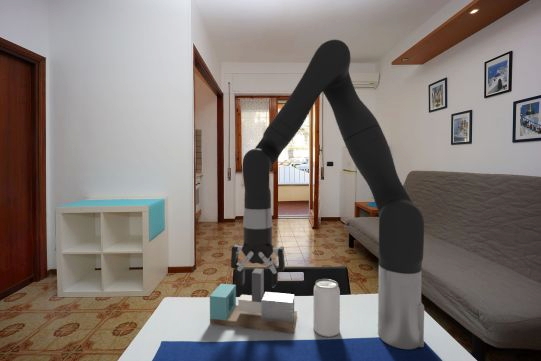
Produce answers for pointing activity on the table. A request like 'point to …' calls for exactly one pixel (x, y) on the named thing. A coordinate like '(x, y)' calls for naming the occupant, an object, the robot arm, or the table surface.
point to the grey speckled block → (277, 307)
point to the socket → (222, 301)
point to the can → (326, 308)
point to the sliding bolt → (253, 293)
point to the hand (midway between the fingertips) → (257, 284)
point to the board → (254, 322)
